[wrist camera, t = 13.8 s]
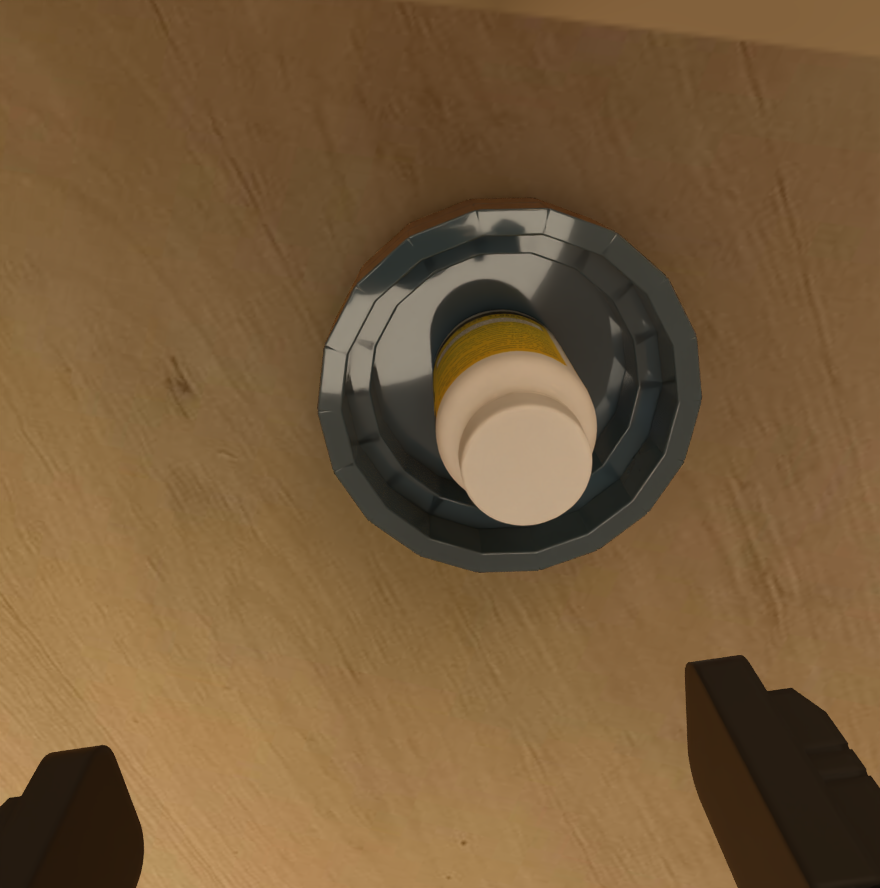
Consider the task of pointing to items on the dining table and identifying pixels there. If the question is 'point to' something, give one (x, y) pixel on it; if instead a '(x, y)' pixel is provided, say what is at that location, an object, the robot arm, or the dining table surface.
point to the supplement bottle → (512, 418)
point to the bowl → (576, 330)
